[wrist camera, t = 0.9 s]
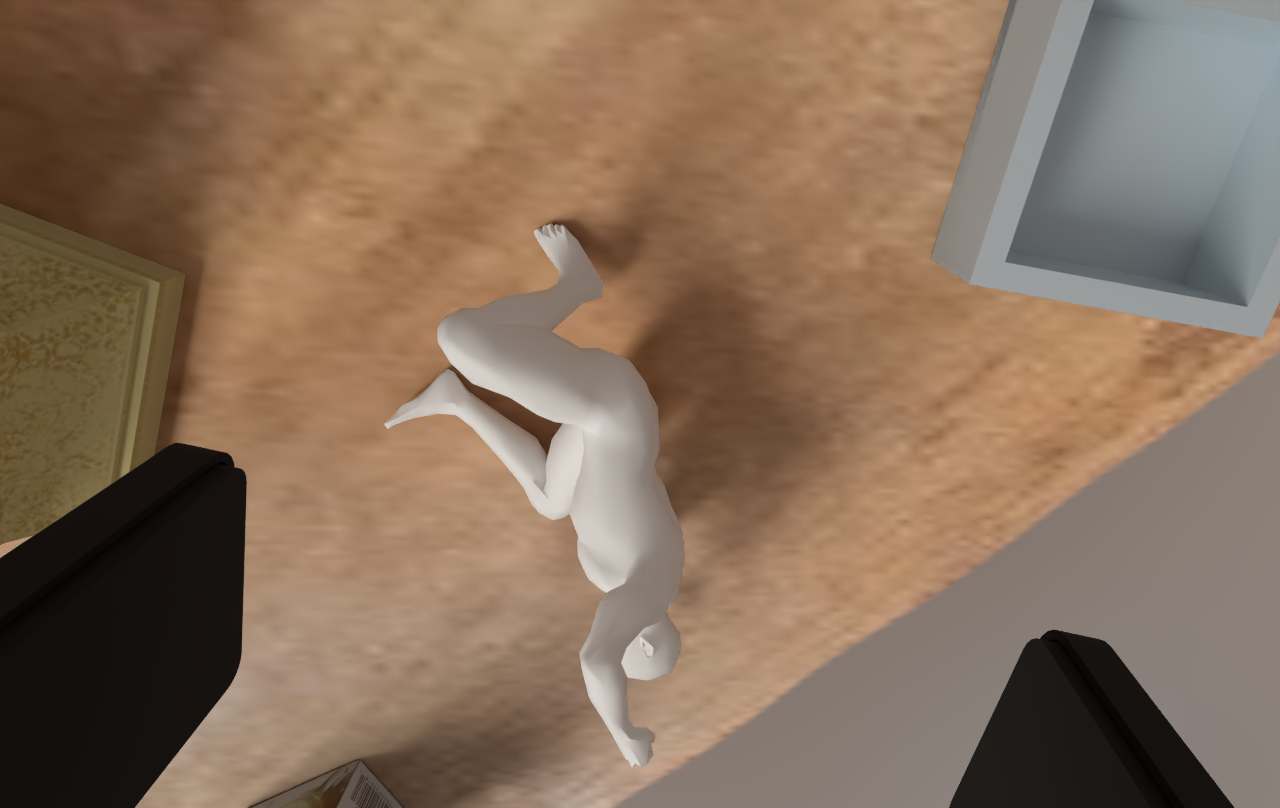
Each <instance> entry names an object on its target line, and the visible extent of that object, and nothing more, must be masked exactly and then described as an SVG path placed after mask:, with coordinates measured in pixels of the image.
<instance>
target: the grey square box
mask: <svg viewBox="0 0 1280 808" xmlns="http://www.w3.org/2000/svg"><path fill="white" fill-rule="evenodd" d="M931 259H932V260H933V261H935V262H936V263H938V264H939V265H941V266H942V267H944V268H945V269H947V270H948V271H950V272H951V273H953V274H955V275H956V276H958V277H959V278H961V279H962V280H964V281H965V282H967V283H968V284H972V285H977V286H983V287H988V288H994V289H999V290H1004V291H1010V292H1015V293H1021V294H1026V295H1031V296H1037V297H1042V298H1048V299H1053V300H1058V301H1064V302H1069V303H1075V304H1080V305H1086V306H1091V307H1096V308H1102V309H1107V310H1113V311H1118V312H1123V313H1129V314H1134V315H1140V316H1145V317H1150V318H1156V319H1161V320H1167V321H1172V322H1177V323H1183V324H1188V325H1194V326H1199V327H1205V328H1210V329H1215V330H1221V331H1226V332H1232V333H1237V334H1242V335H1248V336H1253V337H1259V338H1263V336H1264V334H1265V332H1266V329H1267V327H1268V325H1269V323H1270V321H1271V319H1272V317H1273V315H1274V313H1275V311H1276V308H1277V306H1278V304H1279V302H1280V0H1010V2H1009V5H1008V9H1007V12H1006V15H1005V18H1004V22H1003V25H1002V28H1001V31H1000V35H999V38H998V41H997V44H996V48H995V51H994V54H993V57H992V61H991V64H990V67H989V71H988V74H987V77H986V80H985V84H984V87H983V90H982V93H981V97H980V100H979V103H978V106H977V110H976V113H975V116H974V119H973V123H972V126H971V129H970V133H969V136H968V139H967V142H966V146H965V149H964V152H963V155H962V159H961V162H960V165H959V168H958V172H957V175H956V178H955V182H954V185H953V188H952V191H951V195H950V198H949V201H948V204H947V208H946V211H945V214H944V217H943V221H942V224H941V227H940V230H939V234H938V237H937V240H936V244H935V247H934V250H933V253H932V257H931Z"/></svg>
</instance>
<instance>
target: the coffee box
mask: <svg viewBox="0 0 1280 808" xmlns="http://www.w3.org/2000/svg"><path fill="white" fill-rule="evenodd" d="M252 808H403V807H402V806H401V805H400V804H399V803H398V802H397V801H396V800H395V798H394V797H393V796H392V795H391V794H390V793H389V792H388V791H387V789H386V788H385V787H384V786H383V785H382V784H381V783H380V782H379V780H378V779H377V778H376V777H375V776H374V775H373V774H372V773H371V772H370V770H369V769H368V768H367V767H366V766H365V765H364V763H363V762H362V761H360V760H356V761H354V762H352V763H349V764H347V765H345V766H343V767H340V768H338V769H336V770H334V771H331V772H329V773H327V774H325V775H323V776H320V777H318V778H316V779H314V780H312V781H309V782H307V783H305V784H303V785H300V786H298V787H296V788H294V789H291V790H289V791H287V792H285V793H283V794H280V795H278V796H276V797H274V798H272V799H269V800H267V801H265V802H263V803H261V804H258V805H256V806H254V807H252Z"/></svg>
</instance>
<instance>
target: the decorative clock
mask: <svg viewBox="0 0 1280 808" xmlns="http://www.w3.org/2000/svg"><path fill="white" fill-rule="evenodd" d="M185 278H186V274H185V273H182V272H180V271H177V270H174V269H172V268H169V267H166V266H164V265H161V264H158V263H156V262H153V261H151V260H148V259H145V258H143V257H140V256H137V255H135V254H132V253H129V252H127V251H124V250H122V249H119V248H116V247H114V246H111V245H108V244H106V243H103V242H100V241H98V240H95V239H92V238H90V237H87V236H85V235H82V234H79V233H77V232H74V231H71V230H69V229H66V228H63V227H61V226H58V225H55V224H53V223H50V222H48V221H45V220H42V219H40V218H37V217H34V216H32V215H29V214H26V213H24V212H21V211H19V210H16V209H13V208H11V207H8V206H5V205H3V204H0V545H1V544H3V543H6V542H10V541H14V540H18V539H22V538H25V537H29V536H33V535H36V534H37V533H39V532H40V531H42V530H43V529H45V528H46V527H48V526H49V525H51V524H52V523H54V522H55V521H57V520H58V519H60V518H61V517H63V516H64V515H66V514H67V513H69V512H70V511H72V510H73V509H75V508H76V507H78V506H79V505H81V504H82V503H84V502H85V501H87V500H88V499H90V498H91V497H93V496H94V495H96V494H97V493H99V492H100V491H102V490H103V489H105V488H106V487H108V486H109V485H111V484H112V483H114V482H115V481H117V480H118V479H120V478H121V477H123V476H124V475H126V474H127V473H129V472H130V471H132V470H133V469H135V468H136V467H138V466H139V465H141V464H142V463H144V462H145V461H147V460H148V459H150V458H151V457H153V456H154V455H155V450H156V444H157V438H158V433H159V427H160V421H161V415H162V410H163V404H164V398H165V392H166V387H167V381H168V375H169V369H170V364H171V358H172V352H173V346H174V341H175V335H176V329H177V324H178V318H179V312H180V306H181V301H182V295H183V289H184V283H185Z"/></svg>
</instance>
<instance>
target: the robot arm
mask: <svg viewBox="0 0 1280 808" xmlns="http://www.w3.org/2000/svg"><path fill="white" fill-rule="evenodd" d="M246 485H247V482H246V475H245V472H244V471H243V470H242V469H239V468H235V467H234V462H233V459H232V457H231V456H230V455H229V454H228V453H225V452H220V451H215V450H211V449H206V448H201V447H196V446H192V445H187V444H182V443H174V444H172V445H170V446H168V447H166V448H165V449H163V450H162V451H160V452H159V453H157V454H156V455H154V456H153V457H151V458H150V459H148V460H147V461H145V462H144V463H142V464H141V465H139V466H138V467H136V468H135V469H133V470H132V471H130V472H129V473H127V474H126V475H124V476H123V477H121V478H120V479H118V480H117V481H115V482H114V483H112V484H111V485H109V486H108V487H106V488H105V489H103V490H102V491H100V492H99V493H97V494H96V495H94V496H93V497H91V498H90V499H88V500H87V501H85V502H84V503H82V504H81V505H79V506H78V507H76V508H75V509H73V510H72V511H70V512H69V513H67V514H66V515H64V516H63V517H61V518H60V519H58V520H57V521H55V522H54V523H52V524H51V525H49V526H48V527H46V528H45V529H43V530H42V531H40V532H39V533H37V534H36V535H34V536H33V537H31V538H30V539H28V540H27V541H25V542H24V543H22V544H21V545H19V546H18V547H16V548H15V549H13V550H12V551H10V552H9V553H7V554H6V555H4V556H3V557H1V558H0V808H135V807H136V805H137V804H138V803H139V801H140V800H141V799H142V798H143V796H144V795H145V794H146V792H147V791H148V790H149V789H150V787H151V786H152V785H153V784H154V782H155V781H156V780H157V778H158V777H159V776H160V775H161V773H162V772H163V771H164V770H165V768H166V767H167V766H168V764H169V763H170V762H171V761H172V759H173V758H174V757H175V755H176V754H177V753H178V752H179V750H180V749H181V748H182V747H183V745H184V744H185V743H186V741H187V740H188V739H189V738H190V736H191V735H192V734H193V732H194V731H195V730H196V729H197V727H198V726H199V725H200V724H201V722H202V721H203V720H204V718H205V717H206V716H207V715H208V713H209V712H210V711H211V709H212V708H213V707H214V706H215V704H216V703H217V702H218V701H219V699H220V698H221V697H222V695H223V694H224V693H225V692H226V690H227V689H228V688H229V686H230V685H231V683H232V681H233V679H234V677H235V675H236V673H237V670H238V668H239V664H240V660H241V652H242V619H243V586H244V552H245V519H246ZM949 808H1234V806H1233V805H1232V804H1231V803H1230V801H1229V800H1228V799H1227V797H1226V796H1225V795H1224V794H1223V792H1222V791H1221V790H1220V788H1219V787H1218V786H1217V785H1216V783H1215V782H1214V780H1213V779H1212V778H1211V777H1210V775H1209V774H1208V773H1207V771H1206V770H1205V769H1204V767H1203V766H1202V765H1201V763H1200V762H1199V761H1198V760H1197V758H1196V757H1195V756H1194V754H1193V753H1192V752H1191V750H1190V749H1189V748H1188V747H1187V745H1186V744H1185V743H1184V742H1183V740H1182V739H1181V737H1180V736H1179V735H1178V733H1176V731H1175V730H1174V728H1173V727H1172V726H1171V724H1170V723H1169V722H1168V720H1167V719H1166V718H1165V717H1164V715H1163V714H1162V713H1161V711H1160V710H1159V709H1158V708H1157V706H1156V705H1155V703H1154V702H1153V701H1152V700H1151V698H1150V697H1149V696H1148V694H1147V693H1146V692H1145V690H1144V689H1143V688H1142V687H1141V685H1140V684H1139V683H1138V681H1137V680H1136V679H1135V677H1134V676H1133V675H1132V673H1130V671H1129V670H1128V668H1127V667H1126V666H1125V664H1124V663H1123V662H1122V660H1121V659H1120V658H1119V657H1118V655H1117V654H1116V653H1115V651H1114V650H1113V649H1112V647H1111V646H1110V645H1108V644H1107V643H1106V642H1105V641H1103V640H1100V639H1096V638H1091V637H1086V636H1082V635H1077V634H1072V633H1068V632H1063V631H1058V630H1051V631H1048V632H1046V633H1045V634H1044V635H1043V636H1042V637H1041V638H1040V639H1037V638H1036V639H1032V640H1030V641H1029V642H1028V643H1027V644H1026V646H1025V648H1024V649H1023V651H1022V653H1021V655H1020V658H1019V660H1018V662H1017V664H1016V666H1015V668H1014V670H1013V672H1012V674H1011V677H1010V679H1009V681H1008V683H1007V685H1006V687H1005V689H1004V691H1003V693H1002V695H1001V698H1000V700H999V702H998V704H997V706H996V708H995V710H994V712H993V714H992V717H991V719H990V721H989V723H988V725H987V727H986V729H985V731H984V734H983V736H982V738H981V740H980V742H979V744H978V746H977V748H976V750H975V752H974V754H973V757H972V759H971V761H970V763H969V765H968V767H967V769H966V771H965V773H964V776H963V778H962V780H961V782H960V784H959V786H958V788H957V790H956V792H955V795H954V797H953V799H952V801H951V804H950V807H949Z"/></svg>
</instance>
